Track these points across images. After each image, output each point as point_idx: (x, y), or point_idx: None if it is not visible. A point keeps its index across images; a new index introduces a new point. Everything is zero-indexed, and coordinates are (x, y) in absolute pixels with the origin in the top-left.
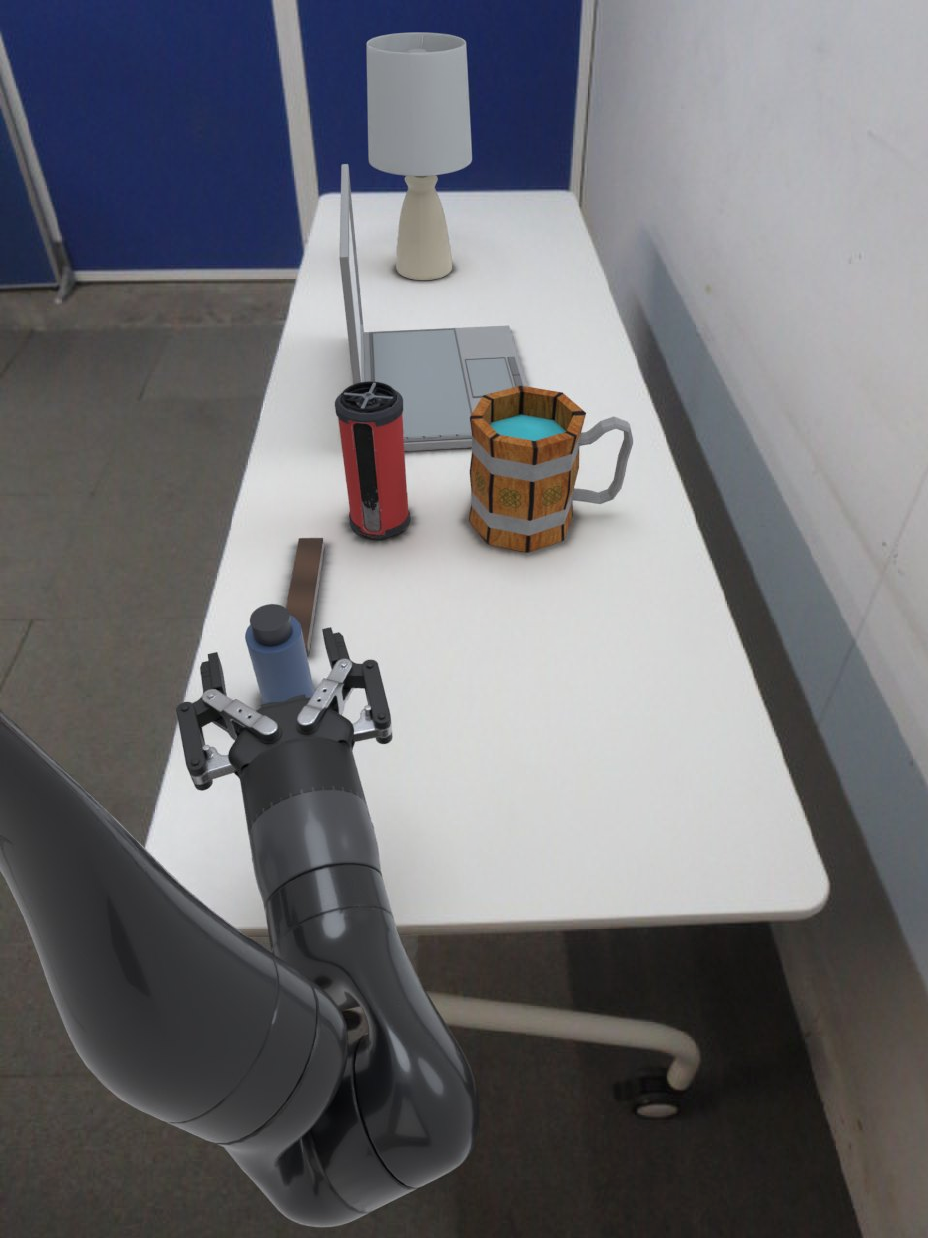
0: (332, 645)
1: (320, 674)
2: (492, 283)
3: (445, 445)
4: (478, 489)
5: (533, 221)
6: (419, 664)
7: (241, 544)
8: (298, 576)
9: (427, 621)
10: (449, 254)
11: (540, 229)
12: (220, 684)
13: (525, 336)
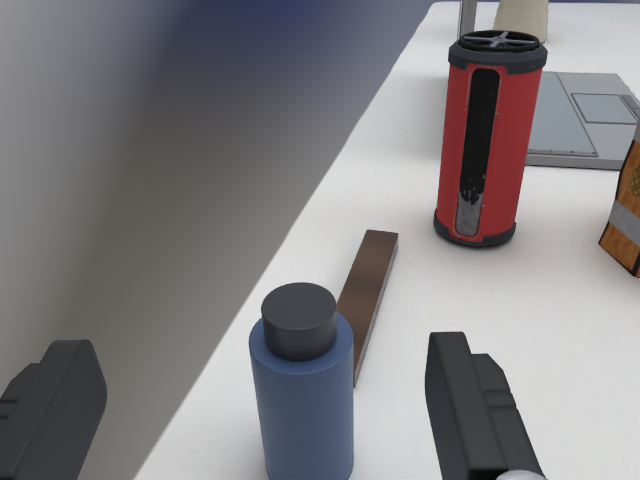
0: (470, 398)
1: (367, 425)
2: (588, 50)
3: (556, 161)
4: (633, 194)
5: (621, 17)
6: (541, 446)
7: (296, 229)
8: (358, 273)
9: (549, 372)
10: (546, 24)
11: (630, 22)
12: (13, 467)
13: (634, 85)
